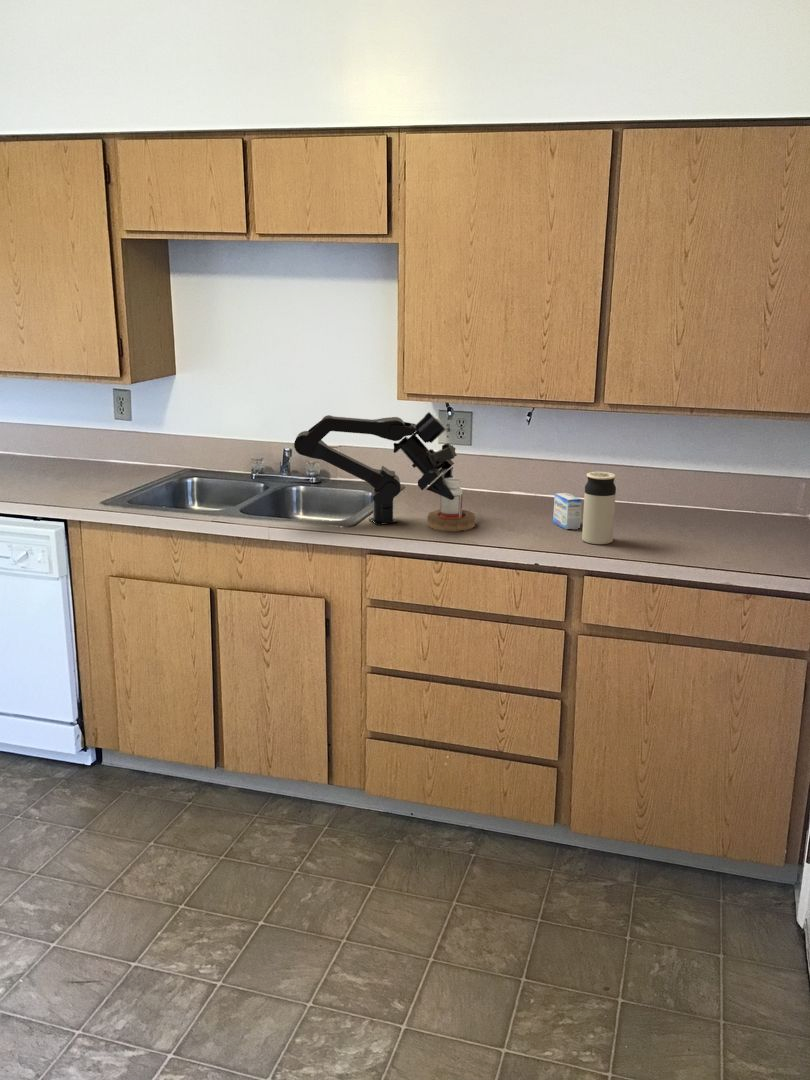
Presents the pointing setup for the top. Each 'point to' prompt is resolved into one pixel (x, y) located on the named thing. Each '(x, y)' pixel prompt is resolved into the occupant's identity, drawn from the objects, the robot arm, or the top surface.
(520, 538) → the top surface
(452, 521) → the walnut ring
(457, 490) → the pill bottle
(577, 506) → the medicine box
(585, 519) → the travel mug
